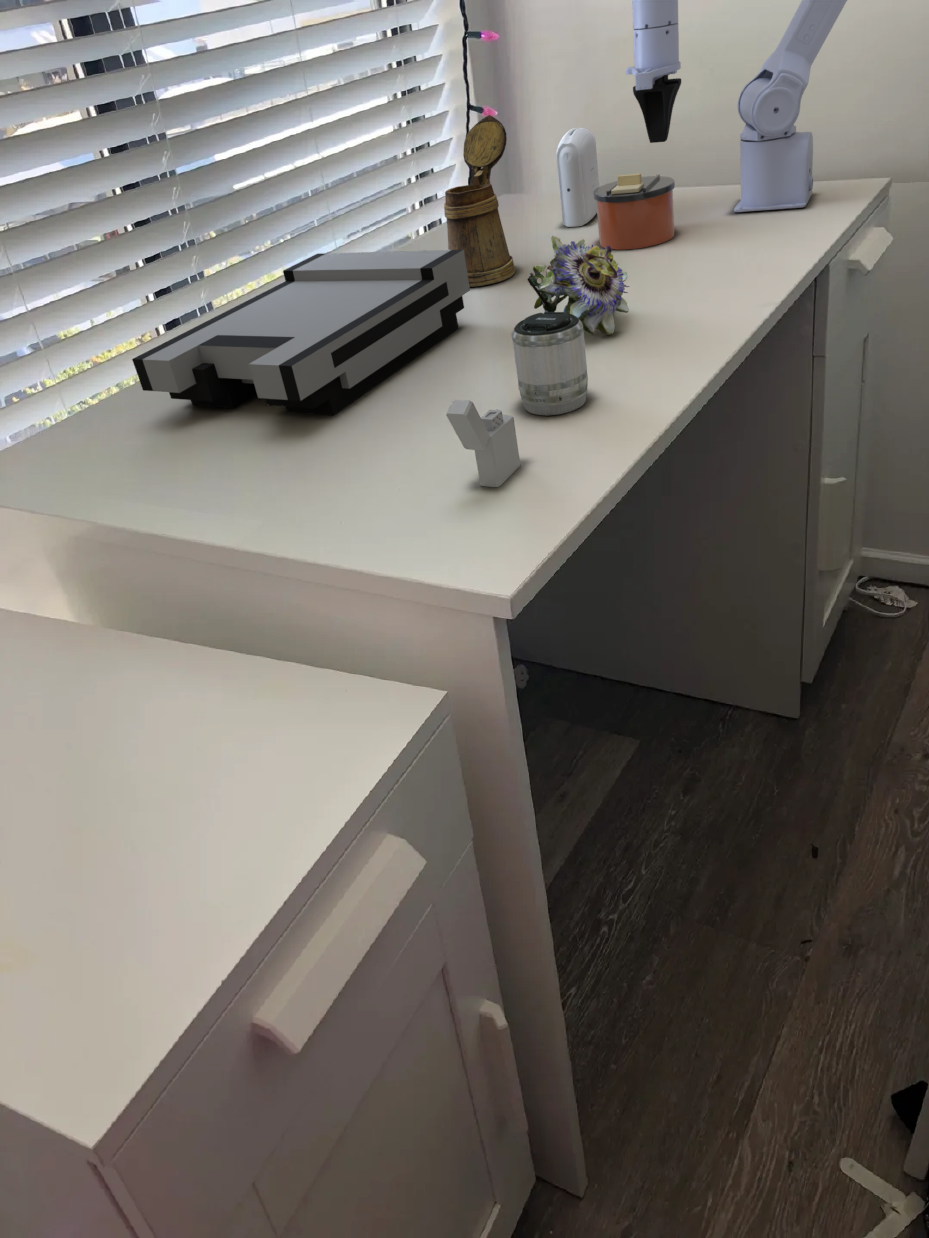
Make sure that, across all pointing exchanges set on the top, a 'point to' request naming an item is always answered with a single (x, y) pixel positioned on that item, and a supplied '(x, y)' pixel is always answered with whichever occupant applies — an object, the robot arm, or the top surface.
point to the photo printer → (577, 176)
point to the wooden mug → (480, 208)
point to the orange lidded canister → (636, 214)
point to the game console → (316, 333)
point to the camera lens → (551, 362)
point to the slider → (628, 184)
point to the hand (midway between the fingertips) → (658, 141)
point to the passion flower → (582, 284)
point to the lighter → (487, 440)
